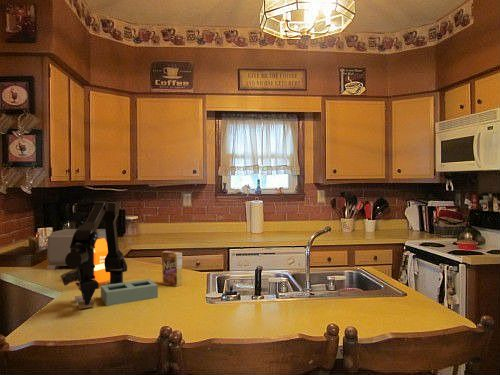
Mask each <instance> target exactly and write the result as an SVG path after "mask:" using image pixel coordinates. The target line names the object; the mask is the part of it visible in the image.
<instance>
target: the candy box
mask: <svg viewBox="0 0 500 375" xmlns="http://www.w3.org/2000/svg"><path fill="white" fill-rule="evenodd" d="M161 255H162V256H161V258H162V260H161V262H162V266H161V269H162V270H161V271H162V284H163V285H167V286H173V287H180V286H182V285H183V252H181V251H172V250H171V251H170V250H165V251H162V252H161Z"/></svg>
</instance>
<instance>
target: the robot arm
mask: <svg viewBox="0 0 500 375" xmlns="http://www.w3.org/2000/svg"><path fill="white" fill-rule="evenodd" d="M119 213H120V205H119V204H118V203H117V202H116V201H113V202H111V201H110V202H109V201H108V202H107V201H94V203H93V208H92V210H91V211H90V213H89V215H88V217H87V219H86V221H85V222H84V223H83V224H81V225H79V226H78V227H77V230H76V232H75V233H74V235H73V239H72V242H71V245H70V249H71V252H70V253H68V254H67V256H66V258H65V262H66V264H67V267H69V268H71V269H72V270H69V271H67V272H65V273H63V274H61V275H60V278H61V281H62V283H63V285H64V286H68V285H70V284H71V283H72V282H75V285H76V286H77V287H78V290H79V291H80V292H81V296H82V297H83V300H84V301H85V305H89V303H90V300H91V299H93V295H94V293H95V291H96V290H98V289H100V285H99V284H100V282H99V283H98V282H97V281H96V280H95V275H94V268H95V265H94V248H95V243H96V241H97V238H98V234H97V229H99V228H98V227H99V226H100V223H101V221H102V222H103V223H104V229H105V232H106V240H107V248H108V254H107V255H106V257H105V259H104V260H105V262H104V265H105V271H106V272H110V279H109V282H107V285H109V284H116V283H124V282H125V281H124V273H126V272H128V264H127V261H126V260H125V257H124V253H123V252H122V251H121V250H120V248H119V247H120V246H119V239H118V230H117V218H118V217H119V215H120V214H119ZM76 243H77V244H76Z"/></svg>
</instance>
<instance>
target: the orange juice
mask: <svg viewBox="0 0 500 375" xmlns="http://www.w3.org/2000/svg"><path fill="white" fill-rule="evenodd" d="M107 254H108V248H107V242H106V240H105V238H103V239H97V241H96V243H95V248H94V265H95V268H94V275H95V280H96V281H97V282H98V283H99V284H100V283H102V282H105V281H110V272H106V271H105V265H104V262H105V260H104V259H105V257H106V255H107Z"/></svg>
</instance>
